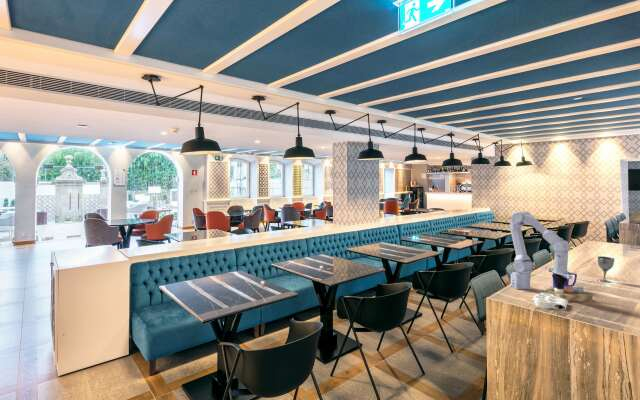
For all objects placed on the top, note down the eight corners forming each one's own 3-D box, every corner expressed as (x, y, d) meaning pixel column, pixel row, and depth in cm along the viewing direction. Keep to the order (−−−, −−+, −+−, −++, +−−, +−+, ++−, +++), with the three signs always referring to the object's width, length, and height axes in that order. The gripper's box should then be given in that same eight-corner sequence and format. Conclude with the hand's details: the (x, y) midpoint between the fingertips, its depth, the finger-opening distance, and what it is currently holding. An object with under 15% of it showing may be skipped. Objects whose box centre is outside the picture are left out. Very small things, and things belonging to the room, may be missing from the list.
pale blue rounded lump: (577, 294, 172) (578, 288, 171) (571, 291, 176) (572, 285, 175) (585, 294, 172) (585, 288, 171) (579, 292, 176) (579, 286, 175)
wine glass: (599, 281, 205) (600, 258, 205) (594, 278, 213) (595, 255, 212) (615, 283, 202) (616, 259, 202) (609, 280, 210) (611, 257, 209)
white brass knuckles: (564, 313, 152) (527, 305, 162) (568, 304, 166) (534, 296, 175) (565, 306, 152) (528, 298, 162) (568, 297, 165) (534, 290, 175)
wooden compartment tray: (559, 300, 169) (559, 294, 169) (545, 294, 179) (546, 288, 179) (592, 301, 169) (592, 295, 168) (576, 294, 179) (577, 289, 178)
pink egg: (567, 294, 172) (568, 288, 171) (562, 291, 176) (562, 285, 175) (575, 294, 172) (575, 288, 171) (569, 291, 176) (569, 285, 175)
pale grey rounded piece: (557, 295, 172) (558, 289, 171) (552, 293, 176) (552, 287, 175) (565, 296, 172) (565, 290, 171) (559, 293, 176) (560, 287, 175)
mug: (579, 291, 184) (580, 274, 184) (555, 289, 187) (556, 272, 186) (571, 287, 192) (572, 270, 192) (548, 285, 195) (549, 268, 194)
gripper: (579, 267, 165) (577, 293, 166) (558, 260, 180) (556, 284, 181) (565, 266, 165) (563, 293, 166) (545, 260, 180) (544, 284, 181)
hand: (559, 288), depth 173 cm, fingers closed, pressing on pale grey rounded piece
